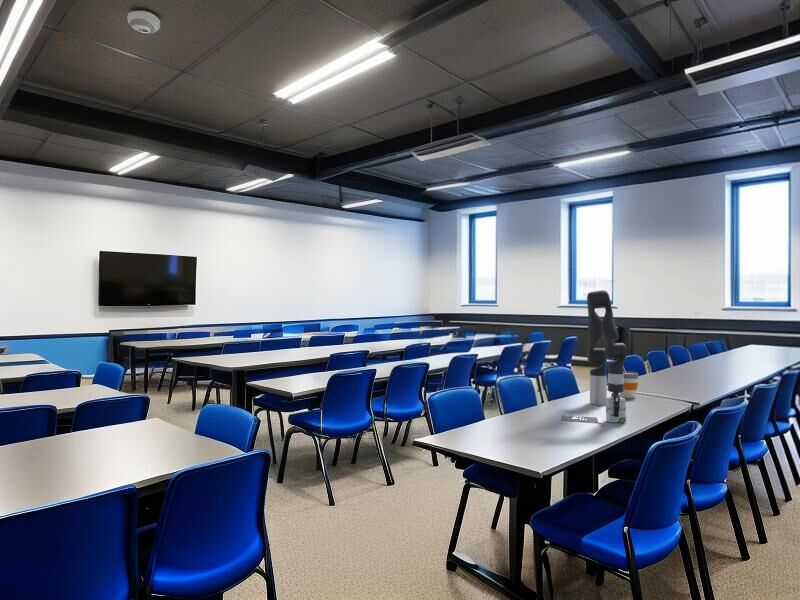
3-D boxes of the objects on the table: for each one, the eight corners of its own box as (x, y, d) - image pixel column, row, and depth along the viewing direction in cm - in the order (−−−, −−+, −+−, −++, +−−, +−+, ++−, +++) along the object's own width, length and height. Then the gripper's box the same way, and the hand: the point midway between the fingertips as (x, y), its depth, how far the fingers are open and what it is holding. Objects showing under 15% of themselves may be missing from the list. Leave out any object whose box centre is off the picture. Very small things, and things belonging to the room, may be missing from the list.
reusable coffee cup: (612, 394, 326) (612, 371, 326) (630, 394, 329) (630, 371, 328) (624, 398, 314) (624, 374, 314) (642, 398, 316) (642, 374, 316)
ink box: (622, 420, 259) (623, 397, 259) (626, 422, 254) (626, 399, 254) (605, 419, 260) (605, 396, 260) (608, 422, 255) (608, 398, 255)
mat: (562, 415, 270) (562, 415, 270) (600, 418, 264) (600, 417, 264) (561, 420, 260) (561, 419, 260) (601, 423, 254) (601, 422, 254)
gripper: (606, 379, 265) (606, 411, 265) (608, 384, 251) (608, 418, 252) (622, 380, 263) (622, 412, 263) (625, 385, 249) (625, 419, 249)
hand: (615, 415), depth 257 cm, fingers closed on ink box, 5 cm apart
